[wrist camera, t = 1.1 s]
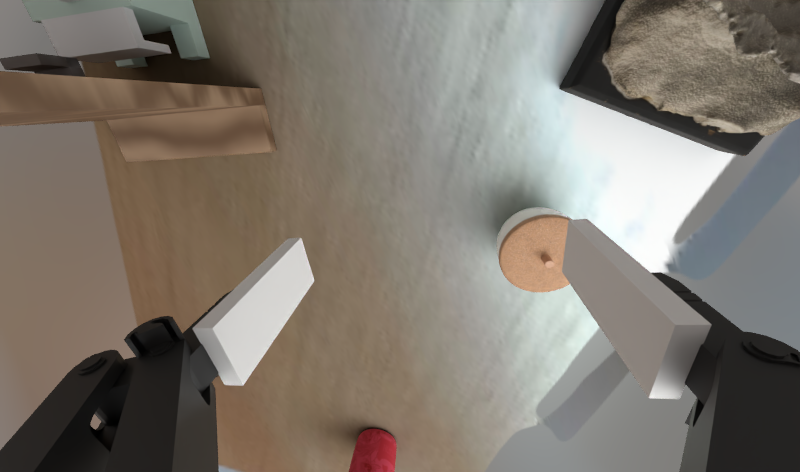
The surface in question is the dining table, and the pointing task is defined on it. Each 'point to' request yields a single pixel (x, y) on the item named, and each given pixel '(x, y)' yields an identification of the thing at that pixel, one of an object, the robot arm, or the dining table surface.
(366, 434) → the red flared column
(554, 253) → the lidded jar
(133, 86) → the wall board
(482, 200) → the dining table surface
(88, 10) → the pale green block
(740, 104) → the coral
